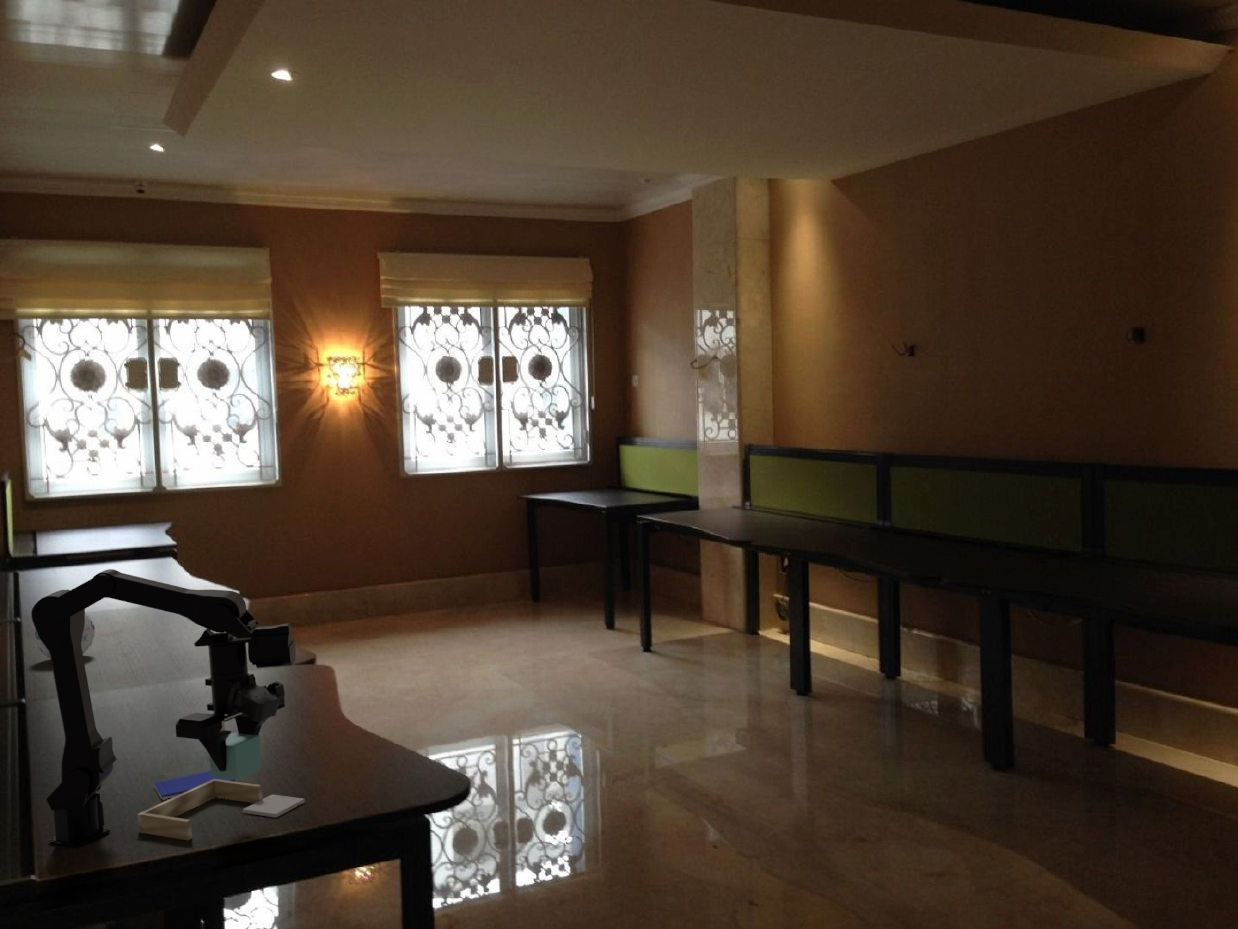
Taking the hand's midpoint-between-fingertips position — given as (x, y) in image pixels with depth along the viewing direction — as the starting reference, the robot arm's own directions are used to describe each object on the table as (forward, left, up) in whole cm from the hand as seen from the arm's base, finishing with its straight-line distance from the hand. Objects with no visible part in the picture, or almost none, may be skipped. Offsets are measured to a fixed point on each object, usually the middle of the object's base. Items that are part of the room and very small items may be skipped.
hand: (235, 765), depth 177 cm
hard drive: (+11, +21, -10) cm, 26 cm away
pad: (+7, -1, -10) cm, 12 cm away
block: (0, 0, -1) cm, 1 cm away
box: (0, +8, -10) cm, 13 cm away
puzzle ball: (+78, +136, -10) cm, 157 cm away
